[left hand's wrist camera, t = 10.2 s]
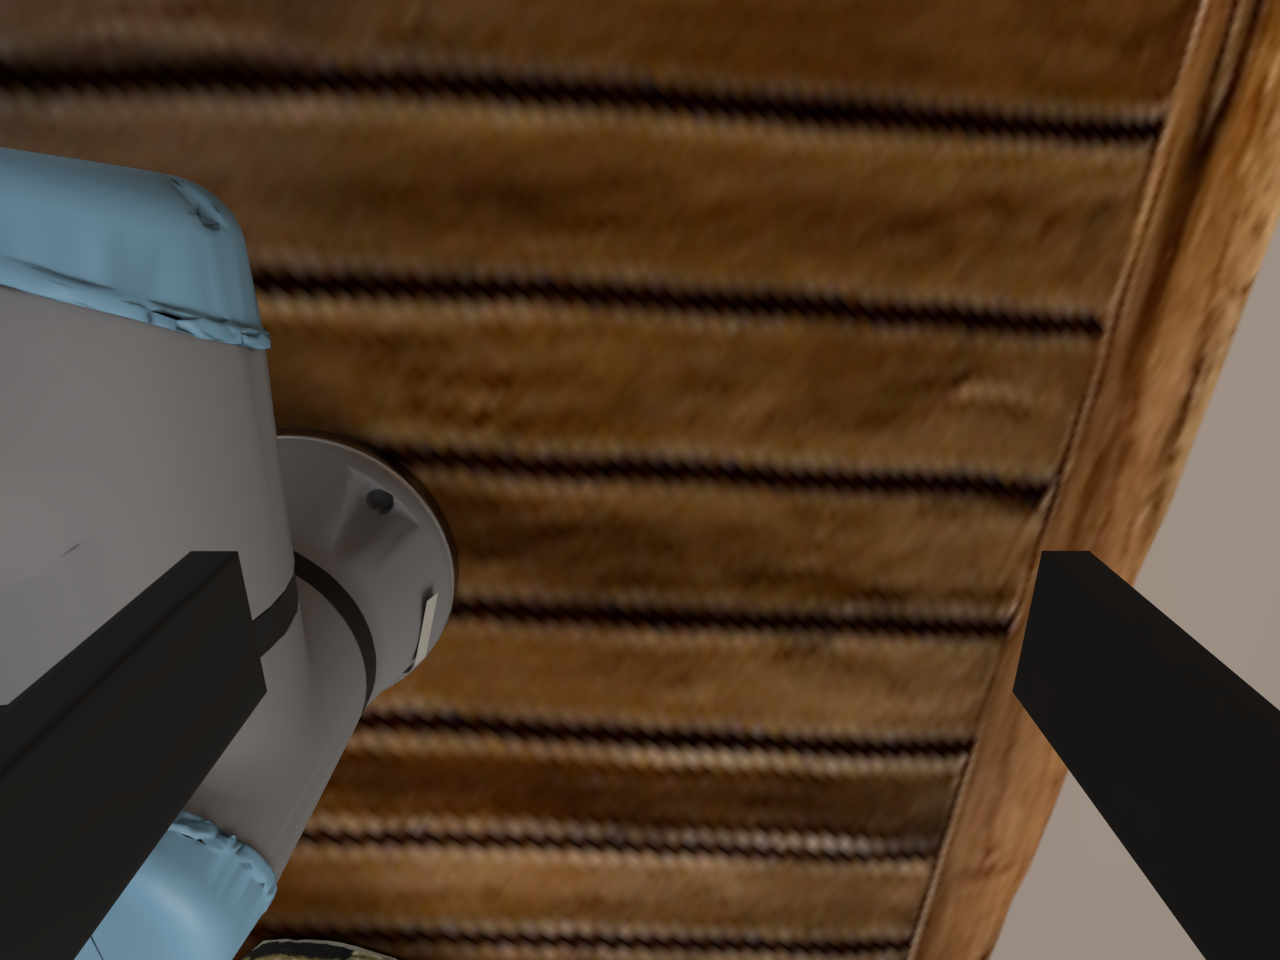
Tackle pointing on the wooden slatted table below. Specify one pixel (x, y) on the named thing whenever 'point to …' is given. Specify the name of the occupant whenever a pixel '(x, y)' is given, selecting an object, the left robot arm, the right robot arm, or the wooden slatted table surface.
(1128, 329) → the wooden slatted table surface
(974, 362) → the wooden slatted table surface
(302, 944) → the fossil
